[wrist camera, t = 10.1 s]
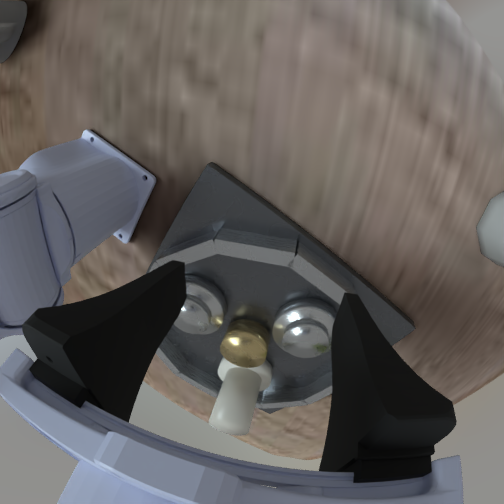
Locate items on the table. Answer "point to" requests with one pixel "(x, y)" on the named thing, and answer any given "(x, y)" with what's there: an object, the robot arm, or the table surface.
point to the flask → (493, 230)
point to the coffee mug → (11, 25)
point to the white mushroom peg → (238, 396)
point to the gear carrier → (258, 295)
